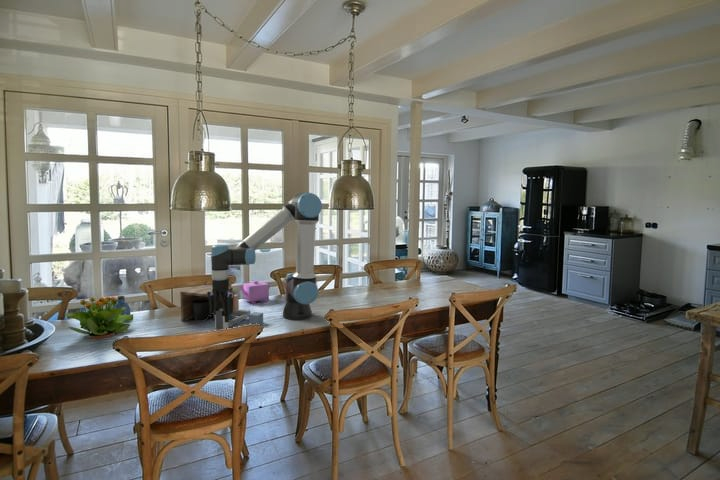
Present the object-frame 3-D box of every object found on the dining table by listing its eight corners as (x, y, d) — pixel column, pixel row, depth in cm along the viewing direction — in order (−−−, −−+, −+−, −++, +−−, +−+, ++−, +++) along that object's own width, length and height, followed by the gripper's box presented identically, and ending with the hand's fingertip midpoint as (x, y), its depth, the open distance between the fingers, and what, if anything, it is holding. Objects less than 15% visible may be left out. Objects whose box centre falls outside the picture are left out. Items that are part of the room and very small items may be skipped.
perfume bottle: (126, 317, 215) (125, 294, 214) (130, 319, 211) (129, 296, 209) (113, 319, 211) (112, 296, 209) (117, 322, 206) (115, 298, 205)
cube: (263, 322, 209) (263, 312, 208) (257, 325, 204) (257, 315, 203) (254, 321, 210) (254, 311, 210) (248, 324, 206) (248, 314, 205)
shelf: (233, 315, 220) (232, 287, 219) (211, 324, 204) (210, 294, 202) (205, 311, 226) (204, 284, 225) (181, 320, 210) (180, 291, 208)
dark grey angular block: (251, 316, 214) (251, 299, 213) (222, 330, 192) (222, 311, 191) (230, 314, 218) (229, 297, 217) (199, 327, 196) (198, 308, 195)
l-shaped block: (238, 311, 229) (238, 294, 228) (234, 312, 226) (234, 296, 225) (215, 308, 234) (214, 292, 233) (211, 309, 231) (210, 293, 230)
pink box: (266, 298, 259) (266, 278, 257) (272, 301, 250) (272, 280, 249) (234, 302, 248) (234, 281, 246) (239, 306, 239) (239, 284, 238)
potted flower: (125, 342, 178) (123, 302, 176) (59, 348, 170) (56, 307, 168) (135, 325, 202) (133, 290, 200) (77, 330, 194) (75, 293, 192)
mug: (218, 319, 212) (218, 301, 211) (193, 322, 207) (192, 303, 206) (217, 315, 220) (216, 298, 219) (192, 318, 215) (192, 300, 214)
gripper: (240, 278, 192) (241, 328, 195) (210, 275, 197) (212, 324, 200) (230, 281, 185) (231, 332, 187) (199, 278, 190) (201, 328, 193)
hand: (221, 328), depth 194 cm, fingers closed on dark grey angular block, 4 cm apart
